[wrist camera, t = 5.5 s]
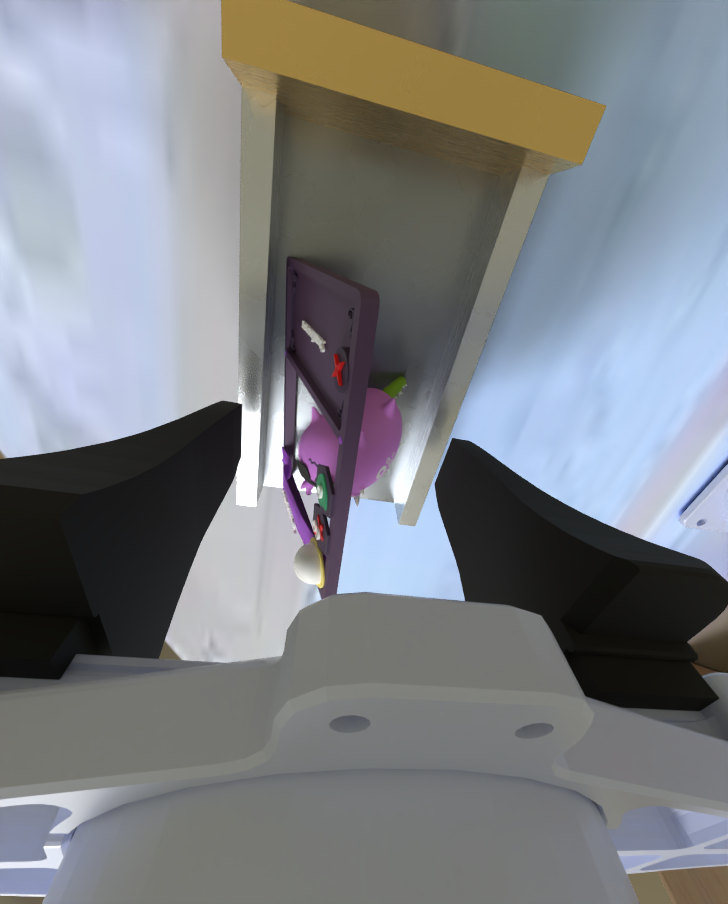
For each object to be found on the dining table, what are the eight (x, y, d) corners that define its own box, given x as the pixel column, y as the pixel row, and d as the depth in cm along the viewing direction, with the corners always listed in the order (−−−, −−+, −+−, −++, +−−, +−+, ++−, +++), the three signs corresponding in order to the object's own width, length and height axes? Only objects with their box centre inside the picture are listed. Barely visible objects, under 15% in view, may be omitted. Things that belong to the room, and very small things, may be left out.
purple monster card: (320, 287, 6) (299, 612, 10) (545, 309, 8) (442, 573, 12) (262, 252, 11) (266, 480, 15) (406, 271, 13) (371, 468, 17)
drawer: (532, 143, 10) (606, 106, 7) (408, 498, 18) (420, 551, 15) (261, 62, 9) (221, -22, 6) (248, 476, 16) (226, 529, 13)
